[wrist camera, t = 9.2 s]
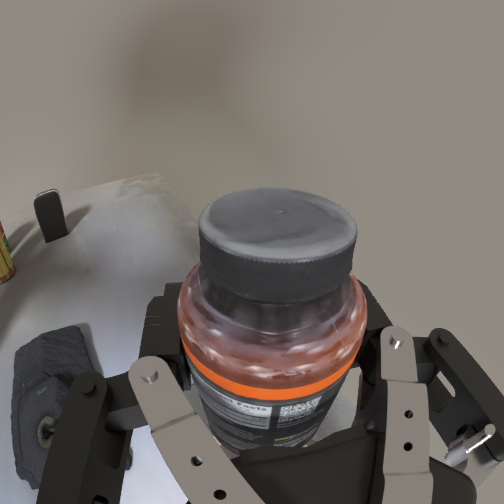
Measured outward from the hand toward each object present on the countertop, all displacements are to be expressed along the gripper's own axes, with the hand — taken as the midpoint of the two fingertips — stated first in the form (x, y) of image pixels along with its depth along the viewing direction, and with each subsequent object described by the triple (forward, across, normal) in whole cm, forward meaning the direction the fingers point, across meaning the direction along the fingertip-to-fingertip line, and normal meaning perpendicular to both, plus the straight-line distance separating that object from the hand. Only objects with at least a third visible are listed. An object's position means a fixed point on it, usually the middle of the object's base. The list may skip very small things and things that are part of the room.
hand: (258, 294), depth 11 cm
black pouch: (+3, +22, +19) cm, 29 cm away
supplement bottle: (-2, 0, +7) cm, 7 cm away
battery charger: (+45, +40, +19) cm, 63 cm away
